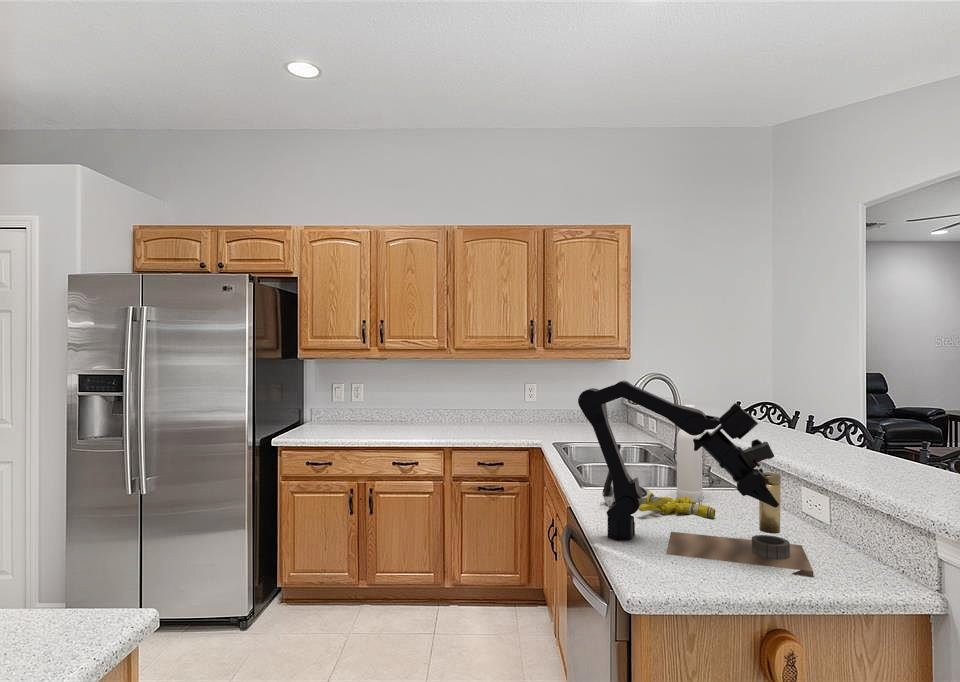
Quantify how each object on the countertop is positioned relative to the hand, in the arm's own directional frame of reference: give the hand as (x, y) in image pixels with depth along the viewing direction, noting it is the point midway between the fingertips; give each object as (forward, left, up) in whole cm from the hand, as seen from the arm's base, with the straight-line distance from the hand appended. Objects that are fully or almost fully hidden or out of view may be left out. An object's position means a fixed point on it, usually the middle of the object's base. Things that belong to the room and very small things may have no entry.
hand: (776, 503), depth 140 cm
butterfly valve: (+10, +53, -13) cm, 56 cm away
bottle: (+30, +46, -13) cm, 56 cm away
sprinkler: (+12, +37, -13) cm, 41 cm away
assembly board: (-5, +7, -13) cm, 15 cm away
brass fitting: (-1, +1, -6) cm, 7 cm away
